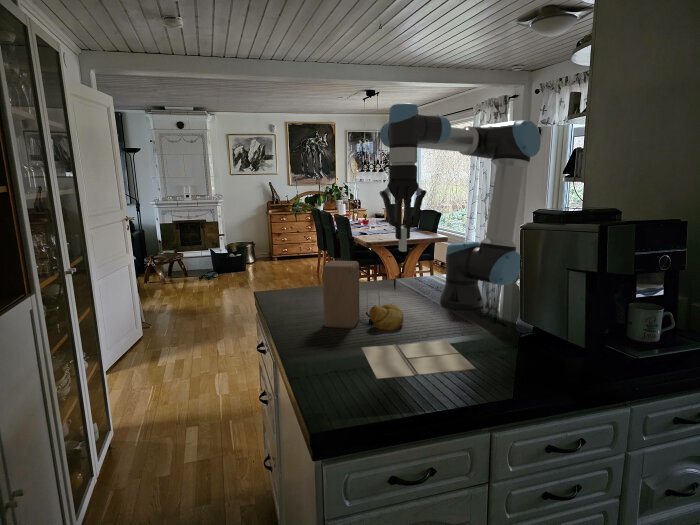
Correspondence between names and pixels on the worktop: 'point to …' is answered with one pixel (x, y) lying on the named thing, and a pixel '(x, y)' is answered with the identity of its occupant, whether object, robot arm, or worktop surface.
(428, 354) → the far plank
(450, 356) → the near plank
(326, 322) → the wooden block
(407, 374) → the laid board
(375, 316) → the bread roll
